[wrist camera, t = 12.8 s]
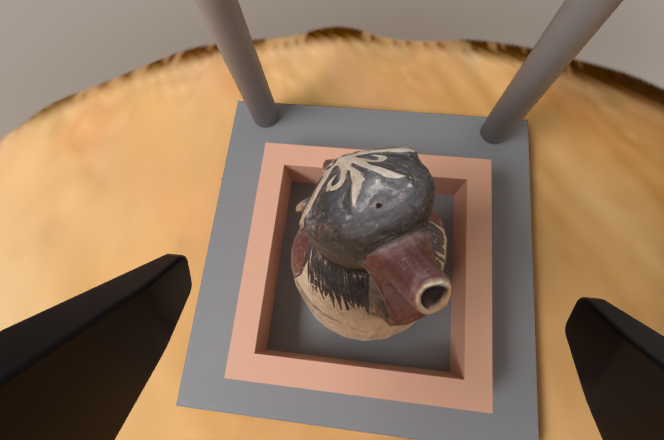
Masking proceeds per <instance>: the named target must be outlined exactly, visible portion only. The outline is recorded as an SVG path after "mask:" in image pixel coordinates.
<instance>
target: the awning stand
mask: <svg viewBox="0 0 664 440" xmlns="http://www.w3.org/2000/svg"><path fill="white" fill-rule="evenodd" d="M622 1H623V0H565V1H564V3H563V4H562V6H561V7H560V9H559V10H558V12H557V13H556V15H555V16H554V18H553V19H552V21H551V22H550V24H549V25H548V27H547V28H546V30H545V31H544V33H543V34H542V36H541V37H540V39H539V40H538V42H537V43H536V45H535V46H534V48H533V49H532V51H531V52H530V54H529V55H528V57H527V58H526V60H525V61H524V63H523V64H522V66H521V67H520V69H519V70H518V72H517V73H516V75H515V76H514V78H513V80H512V81H511V83H510V84H509V86H508V87H507V89H506V90H505V92H504V93H503V95H502V96H501V98H500V99H499V101H498V102H497V104H496V105H495V107H494V108H493V110H492V111H491V113H490V114H489V116H488V117H476V116H461V115H446V114H431V113H416V112H401V111H386V110H371V109H356V108H341V107H326V106H311V105H296V104H281V103H275V102H274V100H273V97H272V94H271V91H270V89H269V86H268V83H267V80H266V77H265V75H264V72H263V69H262V66H261V63H260V61H259V58H258V55H257V52H256V49H255V47H254V44H253V41H252V38H251V36H250V33H249V30H248V27H247V24H246V22H245V19H244V16H243V14H242V10H241V8H240V5H239V2H238V0H195V2H196V4H197V6H198V8H199V10H200V12H201V14H202V16H203V18H204V20H205V22H206V24H207V26H208V28H209V30H210V32H211V34H212V36H213V38H214V40H215V43H216V45H217V47H218V49H219V51H220V53H221V55H222V57H223V59H224V61H225V63H226V65H227V67H228V69H229V71H230V73H231V75H232V77H233V79H234V81H235V83H236V85H237V87H238V89H239V91H240V93H241V95H242V97H243V99H244V101H238V104H237V109H236V114H235V119H234V124H233V129H232V134H231V139H230V144H229V148H228V153H227V158H226V163H225V168H224V173H223V178H222V183H221V188H220V193H219V197H218V202H217V207H216V212H215V217H214V222H213V227H212V232H211V237H210V242H209V246H208V251H207V256H206V261H205V266H204V271H203V276H202V281H201V286H200V291H199V295H198V300H197V305H196V310H195V315H194V320H193V325H192V330H191V335H190V340H189V345H188V349H187V354H186V359H185V364H184V369H183V374H182V379H181V384H180V389H179V394H178V398H177V403H176V406H181V407H188V408H195V409H202V410H209V411H217V412H224V413H231V414H238V415H245V416H252V417H259V418H266V419H274V420H281V421H288V422H295V423H302V424H309V425H316V426H323V427H331V428H338V429H345V430H352V431H359V432H366V433H373V434H380V435H388V436H395V437H402V438H409V439H416V440H539V430H538V401H537V372H536V343H535V315H534V286H533V257H532V229H531V200H530V171H529V142H528V120H522V119H523V118H524V117H525V116H526V115H527V114H528V112H529V111H530V110H531V109H532V108H533V106H534V105H535V104H536V103H537V102H538V100H539V99H540V98H541V97H542V96H543V95H544V93H545V92H546V91H547V90H548V89H549V87H550V86H551V85H552V84H553V83H554V82H555V80H556V79H557V78H558V77H559V76H560V74H561V73H562V72H563V71H564V70H565V69H566V67H567V66H568V65H569V64H570V63H571V61H572V60H573V59H574V58H575V57H576V55H577V54H578V53H579V52H580V50H582V48H583V47H584V46H585V45H586V43H587V42H588V41H589V40H590V39H591V37H593V35H594V34H595V33H596V32H597V31H598V29H599V28H600V27H601V26H602V25H603V23H604V22H605V21H606V20H607V18H609V16H610V15H611V14H612V13H613V12H614V10H615V9H616V8H617V7H618V6H619V5H620V3H621V2H622ZM388 147H410V148H412V149H413V150H415V151H417V154H418V157H419V159H420V160H421V162H422V164H423V165H424V166H426V167H427V168H428V169H429V172H430V174H431V176H432V178H433V181H434V185H435V199H434V204H433V210H434V211H435V212H436V214H437V215H438V216H439V218H440V219H441V221H442V223H443V227H444V231H445V235H446V238H447V254H446V263H445V267H444V271H443V272H444V273H445V274H446V275H447V276H448V277H449V278H450V280H451V282H452V290H451V296H450V298H449V300H448V303H447V305H446V306H445V307H444V308H442V309H441V310H439V311H438V312H436V313H432V314H429V315H427V316H425V317H423V318H421V319H419V320H417V321H416V322H415V323H414V324H413V325H412V326H411V327H409V328H408V329H407V330H405V331H402V332H400V333H398V334H395V335H393V336H391V337H389V338H386V339H379V340H370V341H361V340H356V339H351V338H346V337H343V336H341V335H339V334H338V333H336V332H334V331H332V330H330V329H328V328H326V327H325V326H324V325H323V324H322V323H321V322H320V321H319V320H317V319H316V318H315V317H314V315H313V314H312V312H311V311H310V309H309V308H308V306H307V305H306V303H305V301H304V300H303V298H302V296H301V294H300V292H299V290H298V288H297V286H296V283H295V279H294V275H293V271H292V267H291V249H292V246H293V243H294V239H295V237H296V235H297V233H298V231H299V230H300V225H299V222H300V218H301V214H302V213H298V212H296V207H297V205H298V204H299V203H300V202H302V201H303V200H305V199H307V198H309V197H310V196H311V194H312V192H313V190H314V188H315V187H316V185H317V183H318V181H319V180H320V178H321V176H322V174H323V163H324V162H325V160H329V159H336V158H338V157H340V156H342V155H345V154H348V153H353V152H357V151H363V150H370V149H378V148H388Z"/></svg>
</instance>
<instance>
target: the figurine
mask: <svg viewBox="0 0 664 440" xmlns="http://www.w3.org/2000/svg"><path fill="white" fill-rule="evenodd" d="M434 199H435V185H434V181H433V178H432V176H431V174H430V172H429V169H428V168H427V167H426V166H424V165H423V164H422V162H421V160H420V159H419V157H418V154H417V151H415V150H413V149H412V148H410V147H388V148H378V149H370V150H363V151H357V152H353V153H348V154H345V155H342V156H340V157H338V158H336V159H329V160H325V162H324V163H323V174H322V176H321V178H320V180H319V181H318V183H317V185H316V187H315V188H314V190H313V192H312V194H311V196H310V197H309V198H307V199H305V200H303V201H302V202H300V203H299V204H298V205H297V207H296V212H298V213H302V214H301V218H300V222H299V225H300V230H299V231H298V233H297V235H296V237H295V239H294V243H293V246H292V249H291V267H292V271H293V275H294V279H295V283H296V286H297V288H298V290H299V292H300V294H301V296H302V298H303V300H304V301H305V303H306V305H307V306H308V308H309V309H310V311H311V312H312V314H313V315H314V317H315V318H316V319H317V320H319V321H320V322H321V323H322V324H323V325H324V326H325V327H326V328H328V329H330V330H332V331H334V332H336V333H338V334H339V335H341V336H343V337H346V338H351V339H356V340H361V341H370V340H379V339H386V338H389V337H391V336H393V335H395V334H398V333H400V332H402V331H405V330H407V329H408V328H409V327H411V326H412V325H413V324H414V323H415V322H416V321H417V320H419V319H421V318H423V317H425V316H427V315H429V314H432V313H436V312H438V311H439V310H441V309H442V308H444V307H445V306H446V305H447V303H448V300H449V298H450V296H451V290H452V282H451V280H450V278H449V277H448V276H447V275H446V274H445V273H444V272H443V271H444V267H445V263H446V254H447V238H446V235H445V231H444V227H443V223H442V221H441V219H440V218H439V216H438V215H437V214H436V212H435V211H434V210H433V204H434Z"/></svg>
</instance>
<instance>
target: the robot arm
mask: <svg viewBox="0 0 664 440" xmlns="http://www.w3.org/2000/svg"><path fill="white" fill-rule="evenodd" d="M191 287H192V282H191V276H190V271H189V266H188V261H187V258H186V257H185V256H183V255H177V254H166V255H164V256H162V257H160V258H157V259H155V260H153V261H151V262H149V263H147V264H144V265H142V266H140V267H138V268H136V269H134V270H131V271H129V272H127V273H125V274H123V275H121V276H118V277H116V278H114V279H112V280H110V281H108V282H105V283H103V284H101V285H99V286H97V287H95V288H92V289H90V290H88V291H86V292H84V293H82V294H79V295H77V296H75V297H73V298H71V299H69V300H66V301H64V302H62V303H60V304H58V305H56V306H53V307H51V308H49V309H47V310H45V311H43V312H40V313H38V314H36V315H34V316H32V317H30V318H27V319H25V320H23V321H21V322H19V323H17V324H14V325H12V326H10V327H8V328H6V329H4V330H2V331H0V440H115V438H116V436H117V435H118V433H119V431H120V429H121V428H122V426H123V424H124V422H125V420H126V419H127V417H128V415H129V413H130V412H131V410H132V408H133V406H134V404H135V403H136V401H137V399H138V397H139V396H140V394H141V392H142V390H143V388H144V387H145V385H146V383H147V381H148V380H149V378H150V376H151V374H152V372H153V371H154V369H155V367H156V365H157V364H158V362H159V360H160V358H161V356H162V355H163V353H164V351H165V349H166V347H167V345H168V343H169V341H170V338H171V336H172V334H173V331H174V329H175V327H176V324H177V322H178V320H179V317H180V315H181V313H182V310H183V308H184V306H185V303H186V301H187V299H188V296H189V294H190V291H191ZM565 332H566V337H567V340H568V344H569V347H570V350H571V353H572V357H573V360H574V363H575V366H576V370H577V373H578V376H579V379H580V383H581V386H582V389H583V392H584V395H585V398H586V401H587V403H588V406H589V408H590V411H591V413H592V416H593V418H594V420H595V423H596V425H597V427H598V430H599V432H600V434H601V437H602V439H603V440H664V336H662V335H661V334H659V333H657V332H656V331H654V330H652V329H651V328H649V327H647V326H646V325H644V324H643V323H641V322H639V321H638V320H636V319H634V318H633V317H631V316H630V315H628V314H626V313H625V312H623V311H621V310H620V309H618V308H617V307H615V306H613V305H612V304H610V303H608V302H607V301H605V300H603V299H599V298H589V297H582V298H580V299H579V300H578V301H577V303H576V305H575V307H574V309H573V311H572V313H571V315H570V317H569V319H568V321H567V323H566V327H565Z"/></svg>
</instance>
